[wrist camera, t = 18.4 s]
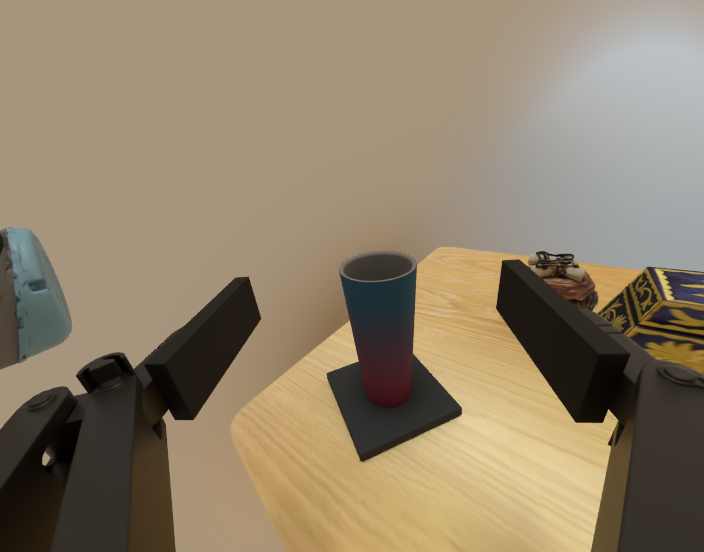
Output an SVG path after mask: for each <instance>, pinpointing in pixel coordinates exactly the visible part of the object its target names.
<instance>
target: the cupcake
mask: <svg viewBox="0 0 704 552" xmlns="http://www.w3.org/2000/svg"><path fill="white" fill-rule="evenodd" d="M536 254H537V255H532V256H530V257H529V260H528V263H529V265H528V267H529V268H530V269H531V270H532V271H534V272H535V273H536V274H537V275H538V276H539V277H541V278H542V279H543V280H544V281H545V282H547V283H548V284H549V285H550V286H551V287H552V288H554V289H555V290H556V291H557V292H558V293H560V294H561V295H562V296H563V297H564V298H566V299H567V300H568V301H569V302H570V303H571V304H573V305H574V306H575V307H576V308H577V309H580V308H586V309H588V310H590V311H593V309H594V308H595V306H596V305H597V304H598V299H599V298H598V296H597V295H598V294H597V293H598V292H595V291H594V289H595V284H594V282H593V280H592V279H591V278H590V276H589V274H588V273H587V272H586V269H583V268H581V267H579V265H578V263H577V262H575V261H574V260H573V258H574V255H572V254H558V255H553V254H549V253H547V252H545V251H541V252H537V253H536ZM549 256H556V257H559V256H560V258H556V260H550V257H549Z"/></svg>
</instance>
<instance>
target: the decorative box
mask: <svg viewBox="0 0 704 552" xmlns="http://www.w3.org/2000/svg"><path fill="white" fill-rule="evenodd" d="M597 314H599V315H601V316H602V317H604V318H605V319H606V320H608V321H609V322H610V323H611V324H613V326H615V327H616V328H618V329H619V330H620V331H622V334H625V335H627V336H628V337H629V338H630V339H632V340H633V341H634V342H636V343H637V344H638V345H639V346H641V347H642V348H643V349H645V350H646V351H647V352H648V353H650V354H651V355H652V356H653V357H655V358H656V359H657V360H666V361H671V362H675V363H679V364H682V365H684V366H687V367H690V368H692V369H694V370H696V371H698V372H699V373H701V374H703V375H704V272H698V271H687V270H677V269H666V268H656V267H647V268H646V269H645V270H644V271H643V272H642V273H641V274H639V275H638V276H637V277H636V278H635V279H634V280H633V281H632V282H631V283H630V284H629V285H628V287H625V288H624V289H623V290H622V291H621V292H620V293H619V294H618V295H617V296H616V297H615V298H614V299H612V300H611V301H610V302H609V303H608V304H607V305H606V306H605V307H604V308H603V309H602V310H601V311H600V312H598V313H597Z"/></svg>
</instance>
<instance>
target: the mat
mask: <svg viewBox="0 0 704 552" xmlns="http://www.w3.org/2000/svg"><path fill="white" fill-rule="evenodd" d="M327 378H328V381H329V383H330V386H331V388H332V391H333V393H334V395H335V398H336V400H337V403H338V405H339V408H340V410H341V413H342V415H343V418H344V420H345V422H346V425H347V427H348V430H349V432H350V435H351V437H352V440H353V442H354V445H355V447H356V449H357V452H358V454H359V457H360V459H361V461H364V460H366V459H368V458H370V457H372V456H374V455H376V454H379V453H381V452H383V451H385V450H387V449H389V448H391V447H393V446H396V445H398V444H400V443H402V442H404V441H406V440H408V439H410V438H412V437H415V436H417V435H419V434H421V433H423V432H425V431H427V430H429V429H432V428H434V427H436V426H438V425H440V424H442V423H444V422H446V421H449V420H451V419H453V418H455V417H457V416H459V415H461V413H462V408H461V406H460V405H459V404H458V403H457V402H456V401H455V400H454V399H453V398H452V396H451V395H450V394H449V393H448V392H447V391H446V390H445V389H444V388H443V386H442V385H441V384H440V383H439V382H438V381H437V380H436V379H435V378H434V377H433V375H432V374H431V373H430V372H429V371H428V370H427V369H426V368H425V367H424V365H423V364H422V363H421V362H420V361H419V360H418V359H417V358H416V357H415V356H414V354H413V357H412V379H411V393H410V396H409V398H408V399H407V401H405V402H404V403H403V404H401V405H399V406H397V407H392V408H385V407H380V406H377V405H375V404H374V403H372V402H371V401H370V400H369V399H368V397H367V395H366V392H365V387H364V382H363V378H362V373H361V369H360V364H359V362H356V363H353V364H351V365H348V366H345V367H342V368H340V369H337V370H334V371H331V372H329V373H327Z"/></svg>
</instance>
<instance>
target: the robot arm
mask: <svg viewBox="0 0 704 552" xmlns="http://www.w3.org/2000/svg"><path fill="white" fill-rule="evenodd" d="M496 309H497V310H498V312H499V313H500V315H501V316H502V318H503V319H504V320H505V322H506V323H507V325H508V326H509V328H510V329H511V331H512V332H513V333H514V335H515V336H516V338H517V339H518V341H519V342H520V343H521V345H522V346H523V348H524V349H525V351H526V352H527V353H528V355H529V356H530V358H531V359H532V361H533V362H534V363H535V365H536V366H537V368H538V369H539V371H540V372H541V373H542V375H543V376H544V378H545V379H546V381H547V382H548V383H549V385H550V386H551V388H552V389H553V391H554V392H555V394H556V395H557V396H558V398H559V399H560V401H561V402H562V404H563V405H564V406H565V408H566V409H567V411H568V412H569V414H570V415H571V416H572V418H573V419H574V421H575V422H576V423H603V421H604V418H605V416H606V414H607V411H608V409H609V410H610V411H611V412H612V413H613V415H614V416H615V417H616V418H617V419H618V423H617V425H616V427H615V429H614V432H613V434H612V436H611V438H610V441H609V443H608V445H610V446H611V451H610V456H609V462H608V467H607V472H606V477H605V482H604V487H603V492H602V498H601V503H600V508H599V513H598V518H597V523H596V528H595V533H594V539H593V544H592V549H591V552H704V375H703V374H701V373H699V372H698V371H696V370H694V369H692V368H690V367H687V366H684V365H682V364H679V363H675V362H671V361H666V360H657V359H656V358H655V357H653V356H652V355H651V354H650V353H648V352H647V351H646V350H645V349H643V348H642V347H641V346H639V345H638V344H637V343H636V342H634V341H633V340H632V339H630V338H629V337H628V336H627V335H625V334H622V331H620V330H619V329H618V328H616V327H615V326H613V324H611V323H610V322H609V321H608V320H606V319H605V318H604V317H602V316H601V315H599V314H597V313H595V312H593V311H590V310H588V309H586V308H580V309H577V308H576V307H575V306H574V305H573V304H571V303H570V302H569V301H568V300H567V299H566V298H564V297H563V296H562V295H561V294H560V293H558V292H557V291H556V290H555V289H554V288H552V287H551V286H550V285H549V284H548V283H547V282H545V281H544V280H543V279H542V278H541V277H539V276H538V275H537V274H536V273H535V272H534V271H532V270H531V269H530V268H529V267H528V266H526V265H525V264H524V263H523V262H522V261H520V260H503V261H502V268H501V275H500V283H499V291H498V298H497V306H496ZM260 320H261V316H260V313H259V310H258V306H257V303H256V300H255V296H254V293H253V290H252V286H251V283H250V280H249V277H239V278H235V279H234V280H233V281H232V282H231V283H229V284H228V286H226V287H225V288H224V289H223V290H222V291H221V292H220V293H219V294H218V295H217V296H216V297H215V298H214V299H212V300H211V302H209V303H208V304H207V305H206V306H205V307H204V308H203V309H202V310H201V311H200V312H199V313H198V314H197V315H196V316H194V317H193V318H192V319H191V320H190V321H189V322H188V323H187V324H186V325H185V326H183V327H182V328H180V329H178V330H177V331H175V332H174V333H172V334H171V335H170V336H169V337H168V338H167V339H166V340H165V341H164V342H163V343H161V345H159V346H158V347H157V349H155V350H154V351H153V352H152V353H151V354H150V355H148V357H146V358H145V359H144V360H143V361H142V362H141V363H140V364H139V365H138V366H137V367H136V368H135V369H133V368H132V366H131V364H130V363H129V361H128V359H127V357H126V356H125V354H124V353H120V352H119V353H111V354H108V355H105V356H102V357H100V358H98V359H95V360H94V361H92V362H90V363H89V364H87V365H86V366H84V367H83V368H82V369H81V370H80V371H79V372H78V373H77V375H76V377H77V378H78V380H79V381H80V382H81V384H82V385H83V387H84V388H85V389H86V391H87V392H88V393H85V394H81V395H77V396H73V394H72V393H71V392H70V390H69V389H68V388H67V387H56V388H53V389H50V390H47V391H44V392H41V393H40V394H38V395H35V396H34V397H32V398H31V399H30V400H29V401H27V402H26V403H24V404H23V405H22V406H21V407H20V408H19V409H18V410H17V411H16V412H15V413H14V414H13V415H12V416H11V418H10V419H9V420H8V421H7V422H6V423H5V424H4V426H3V427H2V428H1V429H0V552H176V550H175V537H174V524H173V513H172V499H171V487H170V475H169V474H170V473H169V461H168V449H167V435H166V424H165V422H164V420H163V418H162V417H163V416H164V414H165V413H166V412H167V410H168V409H169V410H170V412H171V414H172V416H173V417H174V419H175V420H194V419H195V417H196V416H197V414H198V412H199V411H200V410H201V408H202V406H203V405H204V404H205V402H206V401H207V399H208V398H209V396H210V395H211V393H212V392H213V390H214V389H215V387H216V385H217V384H218V383H219V381H220V380H221V378H222V376H223V375H224V374H225V372H226V371H227V369H228V368H229V366H230V365H231V363H232V362H233V360H234V359H235V357H236V355H237V354H238V353H239V351H240V350H241V348H242V347H243V345H244V344H245V342H246V341H247V339H248V338H249V336H250V335H251V333H252V332H253V330H254V329H255V327H256V326H257V324H258V323H259V321H260ZM71 330H72V321H71V316H70V313H69V309H68V306H67V303H66V300H65V297H64V294H63V291H62V289H61V286H60V284H59V281H58V279H57V276H56V274H55V271H54V269H53V267H52V265H51V262H50V260H49V258H48V256H47V254H46V252H45V250H44V248H43V246H42V244H41V243H40V241H39V239H38V238H37V237H36V235H35V234H34V233H33V232H32V231H31V230H29V229H26V228H12V227H9V228H5V229H4V230H1V231H0V369H2V368H5V367H8V366H11V365H14V364H16V363H21V362H24V361H25V360H27V358H29V357H31V356H34V355H36V354H38V353H40V352H43V351H45V350H48V349H50V348H53V347H55V346H57V345H59V344H61V343H62V342H64V340H66V339H67V338H68V336H69V334H70V333H71ZM44 452H46V453H47V454H48V455H49V456H50V457H51V458H50V460H49V462H48V463H47V465H46V466H44V465H42V457H43V454H44Z"/></svg>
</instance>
